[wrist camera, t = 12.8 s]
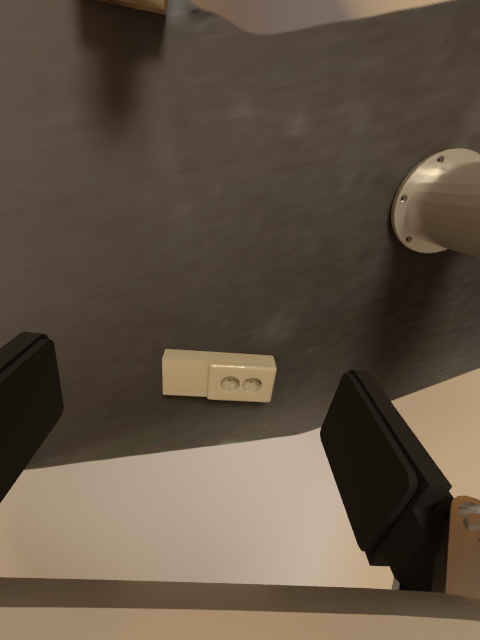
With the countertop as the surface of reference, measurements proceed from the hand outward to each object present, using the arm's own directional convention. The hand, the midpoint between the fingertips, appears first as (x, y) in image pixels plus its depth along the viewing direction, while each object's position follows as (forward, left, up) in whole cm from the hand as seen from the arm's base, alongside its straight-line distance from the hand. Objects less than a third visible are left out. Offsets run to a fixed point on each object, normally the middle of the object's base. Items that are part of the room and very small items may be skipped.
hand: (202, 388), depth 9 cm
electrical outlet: (-2, +23, -33) cm, 40 cm away
